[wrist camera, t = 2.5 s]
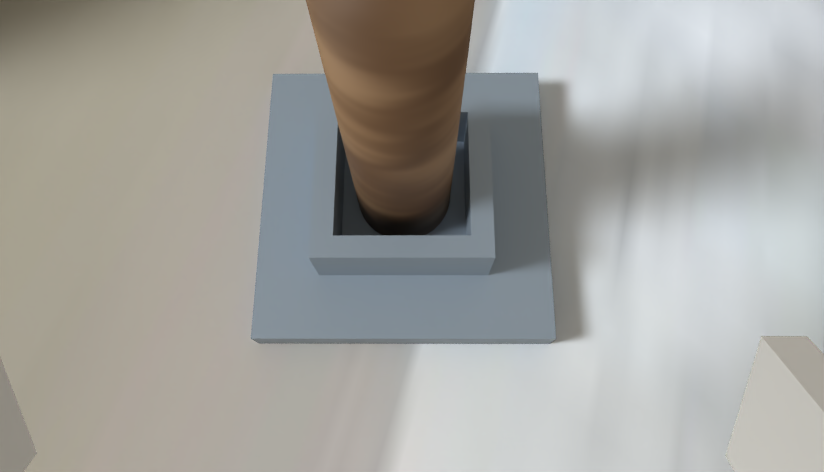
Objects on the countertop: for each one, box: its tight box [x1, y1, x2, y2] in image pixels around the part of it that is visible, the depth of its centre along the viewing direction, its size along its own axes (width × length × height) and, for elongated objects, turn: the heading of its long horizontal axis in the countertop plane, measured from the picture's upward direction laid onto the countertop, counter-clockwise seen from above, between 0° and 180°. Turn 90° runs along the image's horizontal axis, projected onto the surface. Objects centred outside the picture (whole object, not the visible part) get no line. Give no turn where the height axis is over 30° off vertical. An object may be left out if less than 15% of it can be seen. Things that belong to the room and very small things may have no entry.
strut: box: [306, 0, 475, 235], centre depth 23 cm, size 4×4×16 cm
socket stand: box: [251, 73, 556, 344], centre depth 30 cm, size 14×14×4 cm
